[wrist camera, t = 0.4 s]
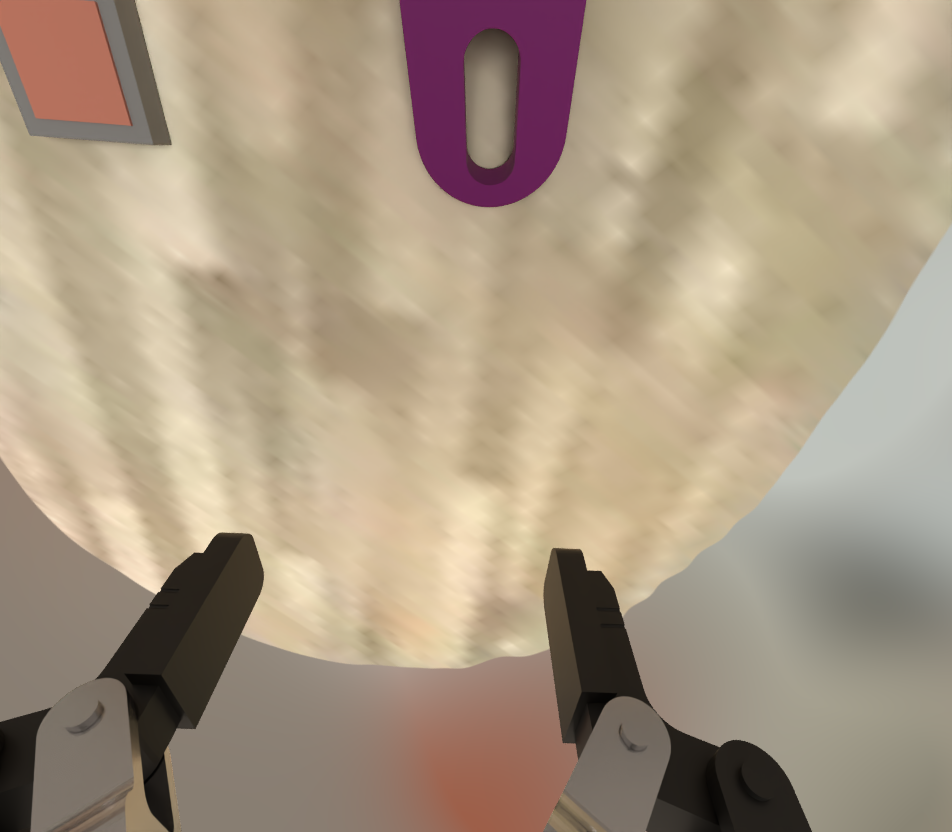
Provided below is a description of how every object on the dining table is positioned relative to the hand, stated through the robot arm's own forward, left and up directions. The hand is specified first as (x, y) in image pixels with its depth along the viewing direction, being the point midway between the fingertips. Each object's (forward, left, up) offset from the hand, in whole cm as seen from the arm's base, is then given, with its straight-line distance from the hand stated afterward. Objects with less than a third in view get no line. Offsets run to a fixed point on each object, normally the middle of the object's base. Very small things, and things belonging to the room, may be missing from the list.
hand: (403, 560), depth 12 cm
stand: (-12, -24, -28) cm, 39 cm away
